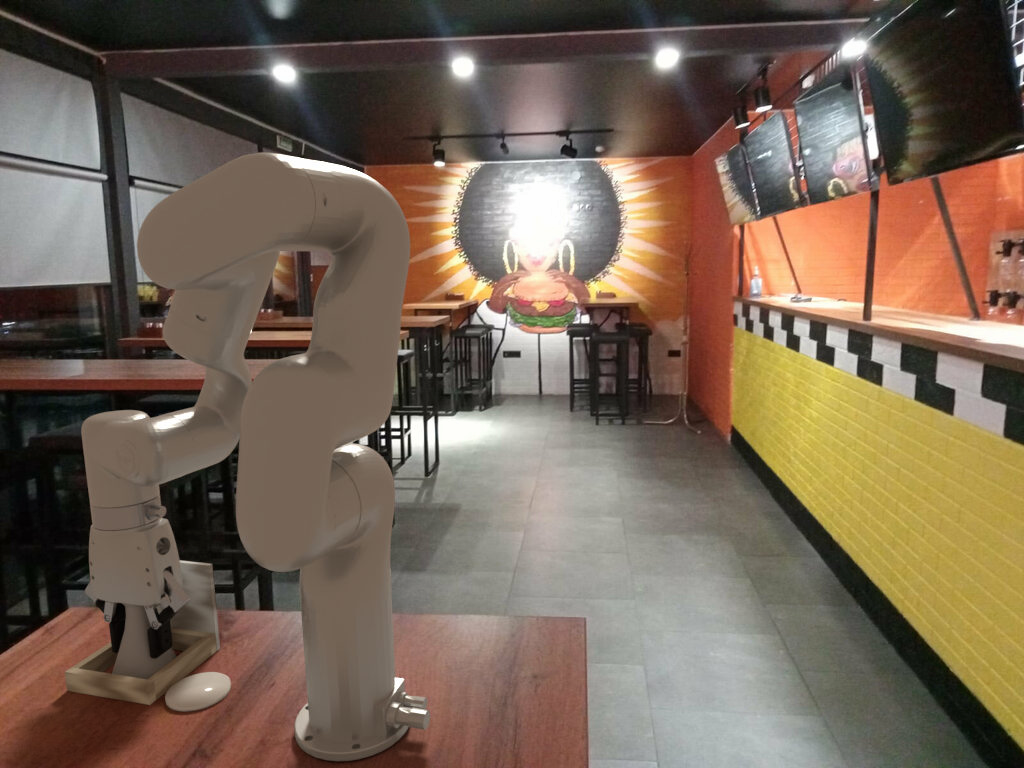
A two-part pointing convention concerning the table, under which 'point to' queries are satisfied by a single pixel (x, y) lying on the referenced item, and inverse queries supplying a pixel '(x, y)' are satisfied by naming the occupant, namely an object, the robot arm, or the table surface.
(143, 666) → the flask
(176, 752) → the table surface
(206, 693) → the white domed disc
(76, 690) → the open-lid wooden box
